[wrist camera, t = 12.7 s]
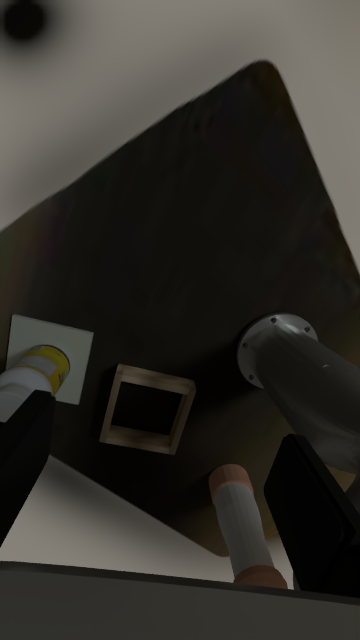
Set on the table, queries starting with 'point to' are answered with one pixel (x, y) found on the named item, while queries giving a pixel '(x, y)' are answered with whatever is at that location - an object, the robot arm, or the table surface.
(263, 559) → the pepper shaker
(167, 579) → the robot arm
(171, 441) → the oak cradle
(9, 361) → the ceramic tile
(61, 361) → the pill bottle
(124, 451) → the table surface
